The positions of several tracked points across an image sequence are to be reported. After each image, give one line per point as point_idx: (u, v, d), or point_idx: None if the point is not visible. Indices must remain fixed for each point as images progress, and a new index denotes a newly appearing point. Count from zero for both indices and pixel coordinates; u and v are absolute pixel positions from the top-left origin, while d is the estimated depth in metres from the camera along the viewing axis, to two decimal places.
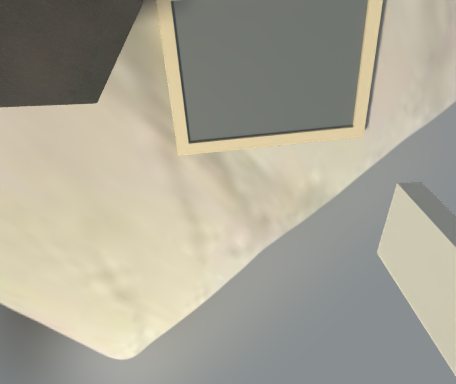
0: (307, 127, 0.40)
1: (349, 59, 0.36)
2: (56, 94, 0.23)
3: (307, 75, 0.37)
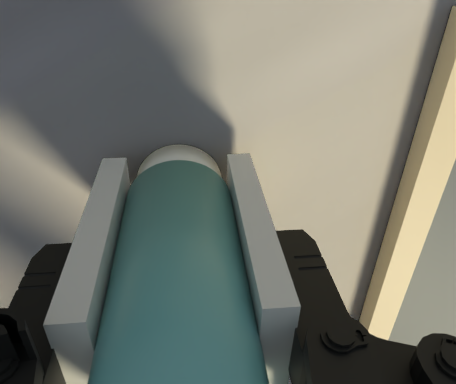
0: None
1: None
2: None
3: None
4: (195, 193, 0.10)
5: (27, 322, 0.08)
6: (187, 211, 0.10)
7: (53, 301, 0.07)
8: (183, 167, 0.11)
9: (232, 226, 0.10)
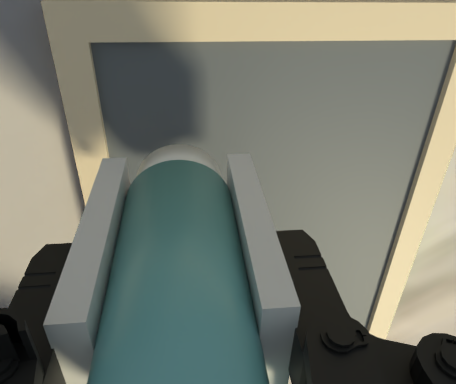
0: (413, 155, 0.17)
1: (272, 71, 0.14)
2: None
3: (290, 166, 0.16)
4: (195, 193, 0.10)
5: (27, 322, 0.08)
6: (186, 210, 0.09)
7: (53, 301, 0.07)
8: (183, 167, 0.11)
9: (232, 226, 0.10)
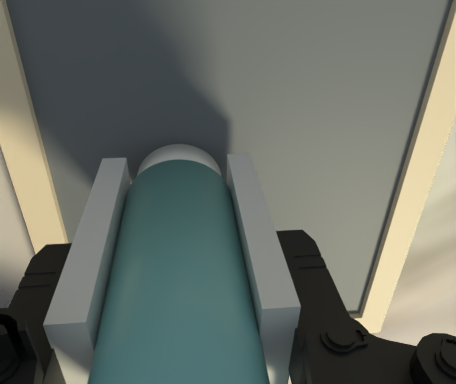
0: (424, 62, 0.13)
1: None
2: None
3: (263, 72, 0.12)
4: (195, 192, 0.10)
5: (27, 322, 0.08)
6: (187, 210, 0.09)
7: (53, 301, 0.07)
8: (183, 166, 0.11)
9: (232, 225, 0.10)
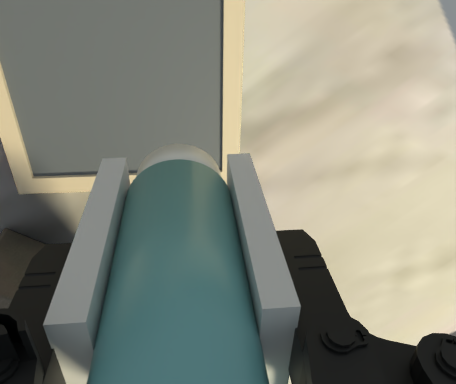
0: None
1: None
2: None
3: None
4: (195, 192, 0.10)
5: (27, 322, 0.08)
6: (186, 210, 0.09)
7: (53, 301, 0.07)
8: (183, 166, 0.11)
9: (232, 225, 0.10)
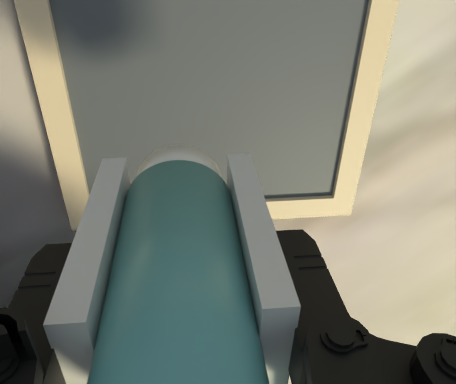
0: None
1: None
2: None
3: None
4: (195, 193, 0.10)
5: (27, 322, 0.08)
6: (186, 210, 0.09)
7: (53, 301, 0.07)
8: (183, 167, 0.11)
9: (232, 226, 0.10)
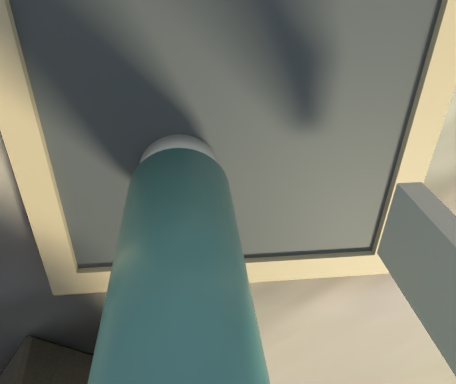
0: None
1: None
2: None
3: None
4: (194, 177, 0.11)
5: None
6: (187, 192, 0.10)
7: None
8: (183, 154, 0.12)
9: (229, 208, 0.11)
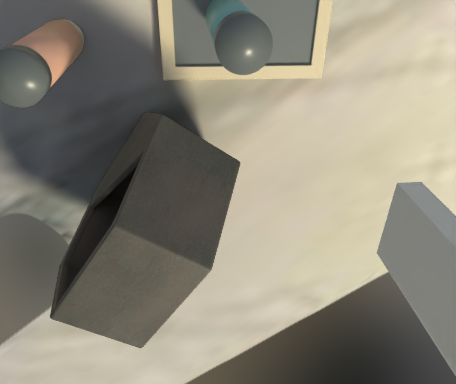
0: None
1: None
2: (221, 199, 0.30)
3: None
4: None
5: None
6: None
7: None
8: None
9: None
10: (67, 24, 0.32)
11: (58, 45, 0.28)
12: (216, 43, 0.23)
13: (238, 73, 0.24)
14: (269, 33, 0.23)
